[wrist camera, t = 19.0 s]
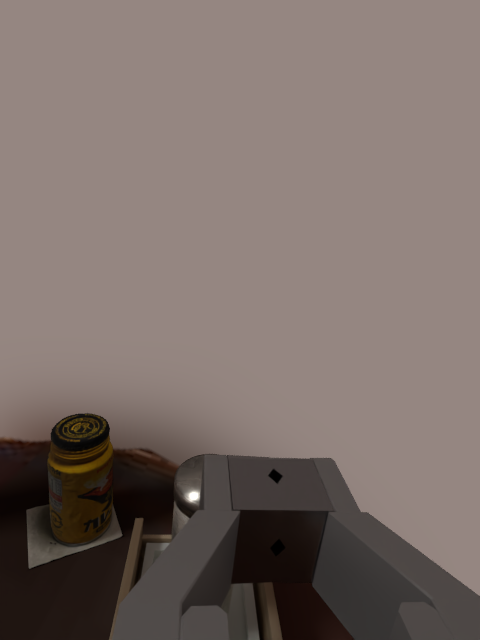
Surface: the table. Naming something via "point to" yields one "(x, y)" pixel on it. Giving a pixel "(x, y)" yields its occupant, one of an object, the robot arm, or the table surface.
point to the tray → (241, 605)
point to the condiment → (75, 492)
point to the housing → (134, 563)
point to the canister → (190, 502)
